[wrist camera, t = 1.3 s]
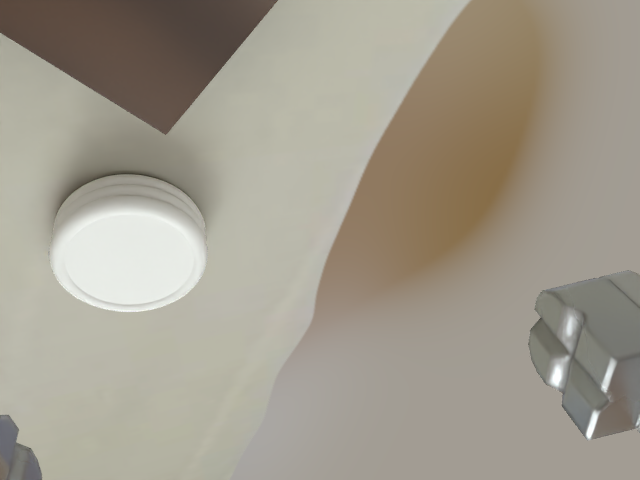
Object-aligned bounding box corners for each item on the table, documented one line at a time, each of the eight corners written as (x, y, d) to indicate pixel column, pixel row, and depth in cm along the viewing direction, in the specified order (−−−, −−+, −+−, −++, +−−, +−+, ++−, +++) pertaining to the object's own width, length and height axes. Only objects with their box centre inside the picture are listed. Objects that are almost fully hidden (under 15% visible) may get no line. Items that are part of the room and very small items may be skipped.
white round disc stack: (83, 148, 35) (78, 180, 32) (228, 200, 40) (234, 231, 37) (35, 260, 39) (27, 296, 37) (170, 294, 44) (172, 328, 42)
